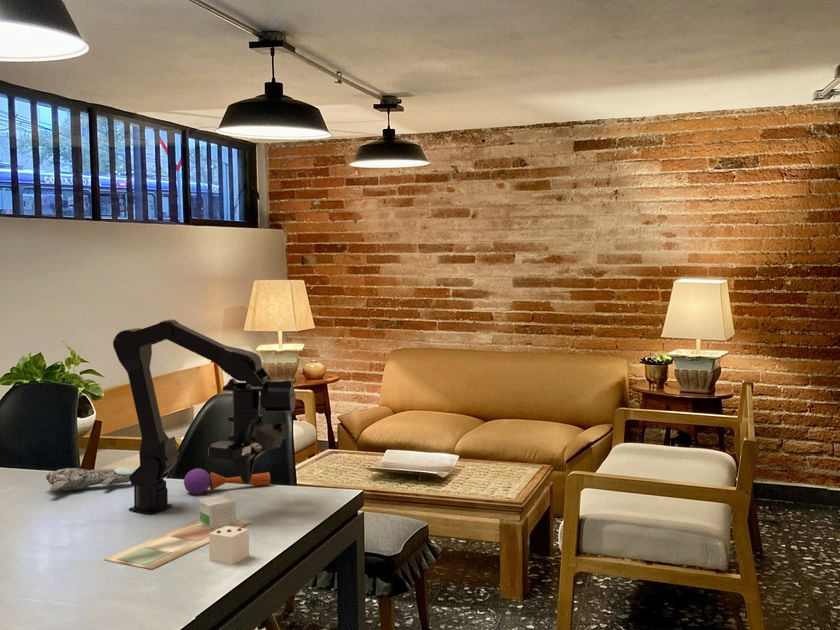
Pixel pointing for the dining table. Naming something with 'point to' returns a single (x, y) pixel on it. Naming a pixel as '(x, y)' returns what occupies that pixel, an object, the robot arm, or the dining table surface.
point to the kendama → (218, 480)
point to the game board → (168, 545)
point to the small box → (217, 511)
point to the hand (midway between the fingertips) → (246, 483)
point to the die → (229, 544)
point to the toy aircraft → (86, 478)
